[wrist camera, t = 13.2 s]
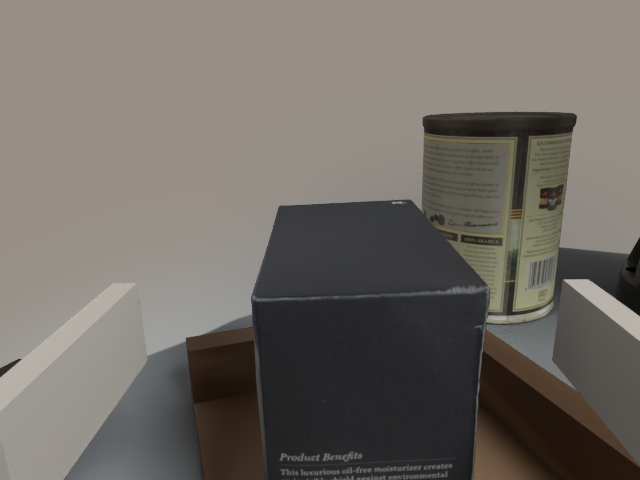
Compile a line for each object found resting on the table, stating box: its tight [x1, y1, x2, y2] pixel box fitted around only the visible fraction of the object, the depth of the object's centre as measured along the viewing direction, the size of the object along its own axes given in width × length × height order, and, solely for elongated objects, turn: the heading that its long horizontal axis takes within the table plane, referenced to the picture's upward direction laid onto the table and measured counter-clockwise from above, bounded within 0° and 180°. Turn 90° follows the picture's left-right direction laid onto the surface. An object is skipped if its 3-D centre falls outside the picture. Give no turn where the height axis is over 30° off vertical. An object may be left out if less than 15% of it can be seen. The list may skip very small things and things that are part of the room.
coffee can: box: [422, 112, 577, 324], centre depth 37 cm, size 10×10×14 cm
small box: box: [251, 200, 491, 480], centre depth 18 cm, size 11×6×10 cm, turn 1°
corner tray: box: [186, 327, 640, 480], centre depth 21 cm, size 15×16×4 cm
